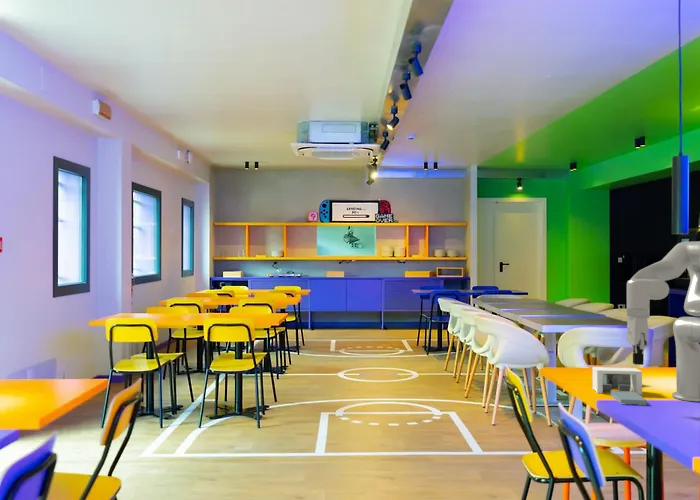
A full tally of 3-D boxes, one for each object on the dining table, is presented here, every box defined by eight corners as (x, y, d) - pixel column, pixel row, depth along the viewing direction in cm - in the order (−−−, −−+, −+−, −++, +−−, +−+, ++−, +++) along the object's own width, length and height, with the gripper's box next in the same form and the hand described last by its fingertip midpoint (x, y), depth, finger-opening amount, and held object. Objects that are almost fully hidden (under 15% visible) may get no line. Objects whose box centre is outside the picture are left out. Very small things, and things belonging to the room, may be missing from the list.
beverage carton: (592, 385, 259) (592, 370, 259) (622, 382, 267) (622, 367, 268) (607, 389, 252) (607, 373, 252) (638, 385, 260) (638, 370, 260)
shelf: (635, 390, 248) (635, 368, 248) (642, 394, 240) (641, 371, 241) (592, 389, 251) (592, 367, 251) (597, 393, 243) (597, 370, 243)
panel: (634, 397, 238) (634, 391, 238) (646, 406, 222) (646, 400, 222) (610, 396, 239) (610, 390, 240) (620, 405, 224) (620, 399, 224)
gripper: (621, 311, 226) (621, 360, 226) (633, 314, 211) (633, 367, 211) (642, 312, 225) (642, 361, 224) (656, 315, 210) (656, 368, 210)
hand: (638, 364), depth 218 cm, fingers closed
